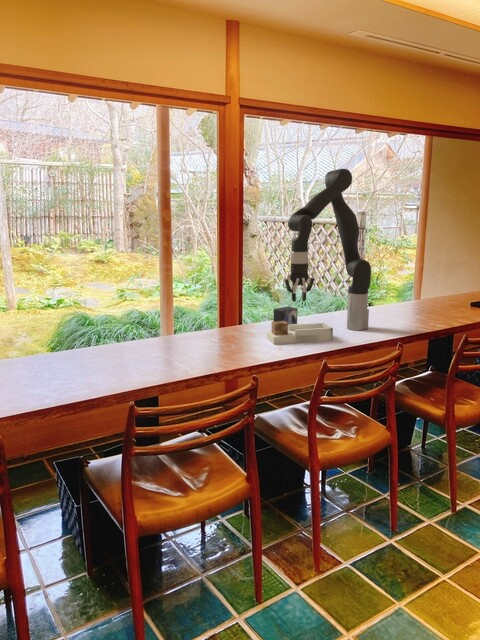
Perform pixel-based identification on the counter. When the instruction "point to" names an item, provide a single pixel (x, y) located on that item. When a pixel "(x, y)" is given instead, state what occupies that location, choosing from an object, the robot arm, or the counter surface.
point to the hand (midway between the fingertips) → (298, 301)
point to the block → (280, 328)
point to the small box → (286, 315)
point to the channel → (303, 333)
